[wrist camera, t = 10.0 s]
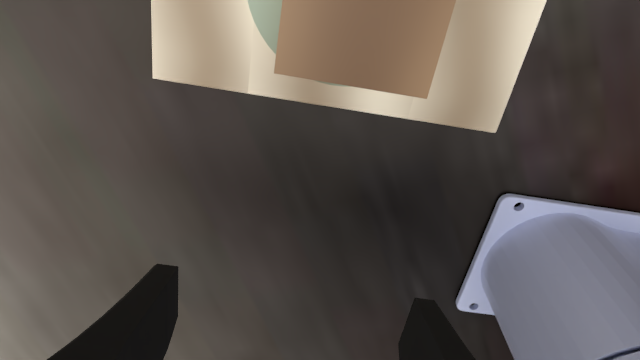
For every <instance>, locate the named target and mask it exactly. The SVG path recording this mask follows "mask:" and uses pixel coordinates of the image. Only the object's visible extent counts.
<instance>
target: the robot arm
mask: <svg viewBox="0 0 640 360" xmlns="http://www.w3.org/2000/svg"><path fill="white" fill-rule="evenodd" d="M520 202H521V204H520V205H519V206H517V207H514V205H515V204H516V203H520ZM455 303H456V305H457V308H458V309H459V310H461V311H466V312H474V313H481V314H489V315H495V317H496V319H497V321H498V324H499V326H500V328H501V330H502V333H503V335H504V337H505V340H506V342H507V344H508V346H509V349H510V351H511V353H512V355H513V358H514V360H640V213H636V212H630V211H623V210H616V209H610V208H603V207H597V206H590V205H583V204H577V203H570V202H563V201H557V200H550V199H543V198H537V197H530V196H523V195H517V194H504V195H502V196H501V197H500V198H499V199H498V201H497V203H496V206H495V208H494V210H493V213H492V215H491V218H490V220H489V222H488V225H487V227H486V230H485V232H484V234H483V237H482V239H481V241H480V244H479V246H478V249H477V251H476V253H475V256H474V258H473V260H472V263H471V265H470V268H469V270H468V272H467V275H466V277H465V279H464V282H463V284H462V287H461V289H460V291H459V294H458V296H457V299H456V302H455ZM473 303H475V304H474V305H471V304H473ZM177 317H178V267H177V266H170V265H162V264H157V265H155V266H154V267H153V268H152V269H151V270H150V271H149V272H148V273H147V274H146V275H145V276H144V277H143V278H142V279H141V280H140V281H139V282H138V283H137V284H136V285H135V286H134V287H133V288H132V289H131V290H130V291H129V292H128V293H127V294H126V295H125V296H124V297H123V298H122V299H120V300H119V301H118V302H117V303H116V304H115V305H114V306H113V307H112V308H111V309H110V310H109V311H107V312H106V313H105V314H104V315H103V316H102V317H101V318H99V319H98V320H97V321H96V322H95V323H93V324H92V325H91V326H90V327H89V328H87V329H86V330H85V331H84V332H83V333H81V334H80V335H79V336H78V337H77V338H75V339H74V340H73V341H71V342H70V343H69V344H68V345H66V346H65V347H64V348H62V349H61V350H59V351H58V352H57V353H55V354H54V355H53V356H51V357H50V358H48V359H47V360H163V358H164V356H165V354H166V351H167V349H168V346H169V343H170V340H171V337H172V334H173V330H174V327H175V324H176V320H177ZM399 360H476V359H475V358H474V357H473V355H472V354H471V353H470V351H469V350H468V349H467V347H466V346H465V344H464V343H463V342H462V340H461V339H460V337H459V336H458V334H457V333H456V331H455V330H454V329H453V327H452V326H451V324H450V323H449V321H448V320H447V318H446V317H445V315H444V314H443V312H442V311H441V309H440V308H439V307H438V305H437V304H436V302H435V301H434V300H427V299H420V298H415V299H414V302H413V305H412V307H411V310H410V313H409V316H408V319H407V321H406V324H405V327H404V330H403V332H402V335H401V338H400V341H399Z"/></svg>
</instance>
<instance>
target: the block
mask: <svg viewBox="0 0 640 360" xmlns="http://www.w3.org/2000/svg"><path fill="white" fill-rule="evenodd" d="M455 3H456V0H282V8H281V16H280V25H279V33H278V42H277V50H276V59H275V67H274V74H280V75H286V76H292V77H298V78H304V79H310V80H316V81H322V82H328V83H334V84H340V85H346V86H352V87H358V88H364V89H370V90H376V91H382V92H388V93H394V94H400V95H405V96H411V97H417V98H423V99H427V97H428V94H429V90H430V87H431V84H432V80H433V77H434V73H435V70H436V67H437V63H438V60H439V57H440V53H441V50H442V46H443V43H444V40H445V36H446V33H447V30H448V26H449V23H450V19H451V16H452V13H453V9H454V6H455Z"/></svg>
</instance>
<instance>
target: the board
mask: <svg viewBox="0 0 640 360" xmlns="http://www.w3.org/2000/svg"><path fill="white" fill-rule="evenodd" d="M546 1H547V0H456V3H455V6H454V9H453V13H452V16H451V19H450V23H449V26H448V30H447V33H446V36H445V40H444V43H443V46H442V50H441V53H440V57H439V60H438V63H437V67H436V70H435V73H434V77H433V80H432V84H431V87H430V90H429V94H428V97H427V99H423V98H417V97H411V96H405V95H400V94H394V93H388V92H382V91H376V90H370V89H364V88H358V87H352V86H346V85H340V84H334V83H328V82H322V81H316V80H310V79H304V78H298V77H292V76H286V75H280V74H274V67H275V59H276V50H277V42H278V33H279V25H280V16H281V8H282V0H151V17H152V64H153V78H154V79H160V80H166V81H173V82H179V83H185V84H192V85H198V86H204V87H210V88H217V89H223V90H229V91H235V92H242V93H248V94H254V95H260V96H267V97H273V98H279V99H286V100H292V101H298V102H304V103H311V104H317V105H323V106H329V107H336V108H342V109H348V110H354V111H361V112H367V113H373V114H380V115H386V116H392V117H398V118H405V119H411V120H417V121H423V122H430V123H436V124H442V125H448V126H455V127H461V128H467V129H474V130H480V131H486V132H492V133H496V131H497V128H498V126H499V123H500V120H501V118H502V115H503V113H504V110H505V107H506V105H507V102H508V100H509V97H510V94H511V92H512V89H513V87H514V84H515V81H516V79H517V76H518V74H519V71H520V68H521V66H522V63H523V61H524V58H525V55H526V53H527V50H528V48H529V45H530V42H531V40H532V37H533V35H534V32H535V29H536V27H537V24H538V22H539V19H540V16H541V14H542V11H543V9H544V6H545V3H546Z"/></svg>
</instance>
